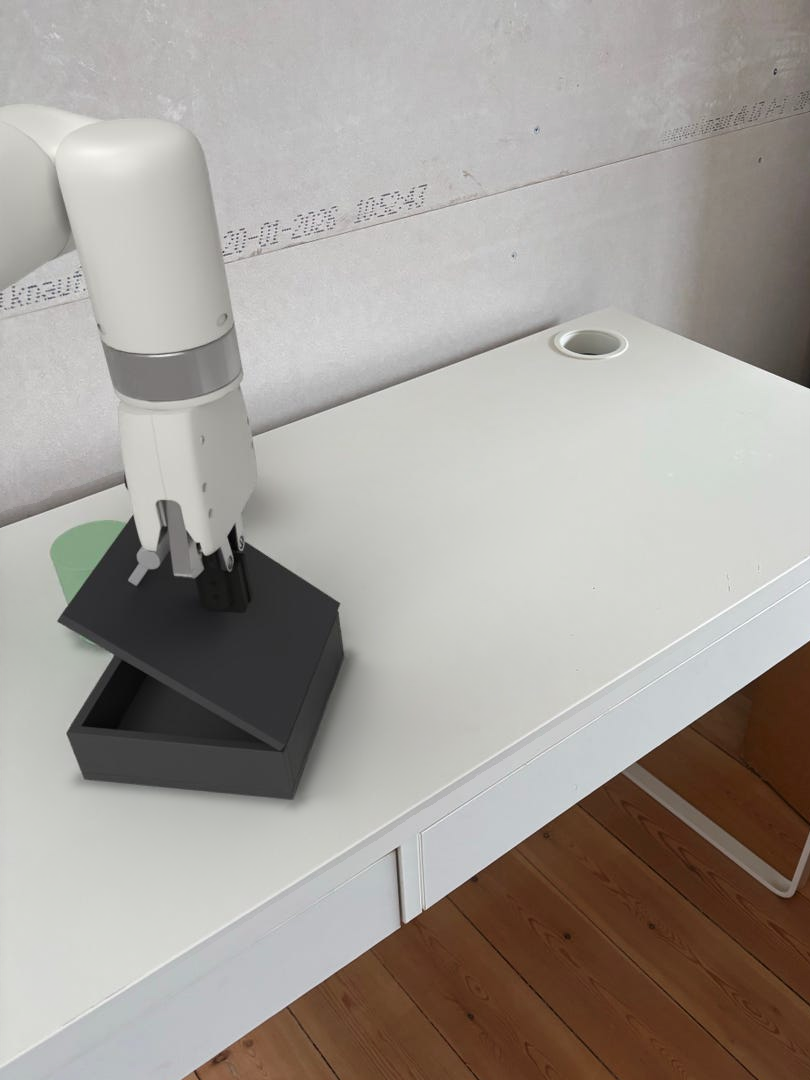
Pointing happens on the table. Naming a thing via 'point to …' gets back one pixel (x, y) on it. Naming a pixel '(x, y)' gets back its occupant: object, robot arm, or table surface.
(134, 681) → the black lidded box
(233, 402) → the robot arm
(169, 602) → the box lid
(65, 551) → the container
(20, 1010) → the table surface
